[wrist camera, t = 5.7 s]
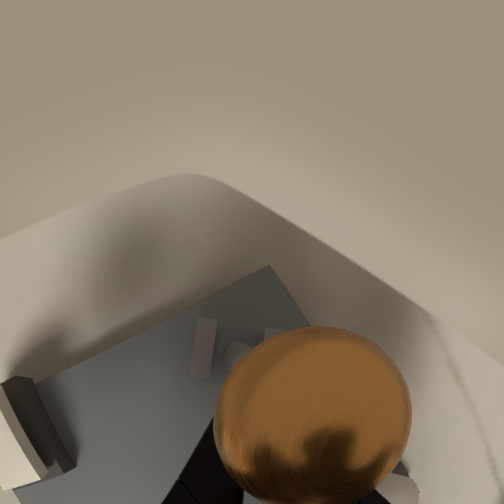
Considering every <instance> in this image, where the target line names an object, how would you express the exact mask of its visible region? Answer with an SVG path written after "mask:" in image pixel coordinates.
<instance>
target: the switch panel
mask: <svg viewBox="0 0 504 504" xmlns="http://www.w3.org/2000/svg"><path fill="white" fill-rule="evenodd" d="M303 327H311V326H310V325H309V323H308V322H307V320H306V319H305V317H304V316H303V314H302V313H301V311H300V309H299V308H298V306H297V305H296V303H295V302H294V300H293V299H292V297H291V296H290V294H289V293H288V291H287V290H286V288H285V287H284V285H283V284H282V282H281V281H280V280H279V278H278V277H277V275H276V274H275V272H274V271H273V269H272V268H271V266H270V265H267V266H266V267H264V268H262V269H260V270H258V271H256V272H254V273H253V274H251V275H249V276H247V277H245V278H243V279H241V280H239V281H238V282H236V283H234V284H232V285H230V286H228V287H226V288H224V289H222V290H220V291H219V292H217V293H215V294H213V295H211V296H209V297H207V298H205V299H203V300H201V301H200V302H198V303H196V304H194V305H192V306H190V307H188V308H186V309H184V310H182V311H180V312H178V313H176V314H175V315H173V316H171V317H169V318H167V319H165V320H163V321H161V322H159V323H157V324H155V325H153V326H151V327H149V328H147V329H145V330H143V331H141V332H139V333H137V334H136V335H134V336H132V337H130V338H128V339H126V340H124V341H122V342H120V343H118V344H116V345H114V346H112V347H110V348H108V349H106V350H104V351H102V352H100V353H98V354H96V355H94V356H92V357H90V358H88V359H86V360H84V361H82V362H80V363H78V364H76V365H74V366H72V367H70V368H68V369H65V370H63V371H61V372H59V373H57V374H55V375H53V376H51V377H49V378H47V379H45V380H43V381H41V382H39V383H37V384H34V382H33V380H32V379H31V378H25V377H20V376H15V377H13V378H11V379H9V380H7V381H5V382H3V383H1V384H0V385H2V388H3V390H4V392H5V394H6V397H7V399H8V401H9V403H10V405H11V407H12V409H13V411H14V413H15V415H16V417H17V419H18V421H19V423H20V425H21V427H22V428H23V430H24V432H25V434H26V436H27V437H28V439H29V441H30V443H31V444H32V446H33V448H34V449H35V451H36V453H37V454H38V456H39V457H40V459H41V461H42V462H43V464H44V465H45V467H46V468H47V470H48V471H49V472H48V473H47V474H46V475H45V476H44V477H43V478H42V479H41V480H38V481H35V482H32V483H29V484H26V485H22V486H19V487H16V488H12V490H13V491H14V493H15V494H16V496H17V498H18V499H19V501H20V502H21V504H161V503H162V501H163V500H164V499H165V497H166V496H167V494H168V493H169V491H170V489H171V488H172V486H173V484H174V483H175V481H176V480H177V479H178V477H179V475H180V473H181V471H182V470H183V468H184V466H185V465H186V463H187V461H188V460H189V458H190V456H191V454H192V453H193V451H194V449H195V447H196V446H197V444H198V442H199V440H200V439H201V437H202V435H203V433H204V432H205V430H206V428H207V426H208V425H209V423H210V421H211V419H212V417H213V416H214V409H215V405H216V400H217V397H218V394H219V392H220V389H221V387H222V385H223V383H224V381H225V379H226V377H227V376H228V374H229V373H230V372H229V371H228V369H227V367H226V365H225V364H224V362H223V358H222V354H223V351H224V349H225V347H226V346H227V345H229V344H230V343H233V342H241V343H244V344H246V345H248V346H250V347H253V348H254V347H255V346H257V345H258V344H260V343H261V342H263V341H264V340H267V339H269V338H271V337H273V336H275V335H277V334H280V333H283V332H286V331H289V330H294V329H298V328H303ZM391 473H394V474H398V475H402V476H406V477H409V476H408V473H407V470H406V468H405V467H404V465H403V464H402V463H401V462H400V461H399V462H398V463H397V465H396V466H395V468H394V469H393V471H392V472H391ZM409 478H410V477H409ZM418 493H419V491H418ZM243 504H265V503H263V502H261V501H259V500H258V499H256V498H254V497H253V496H251V495H250V494H248V493H247V492H246V491H245V490H244V501H243Z"/></svg>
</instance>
